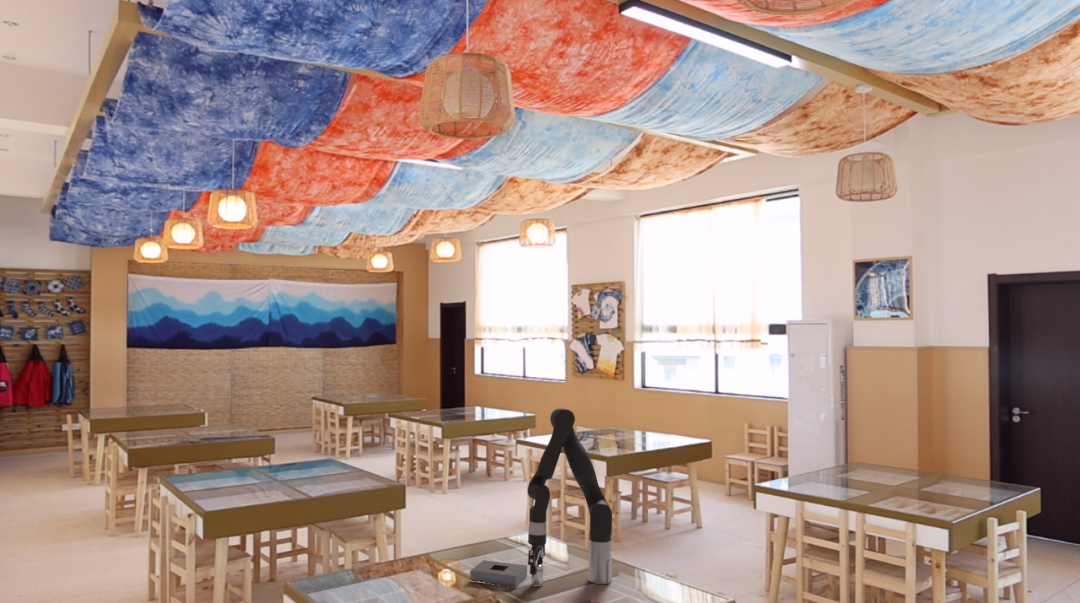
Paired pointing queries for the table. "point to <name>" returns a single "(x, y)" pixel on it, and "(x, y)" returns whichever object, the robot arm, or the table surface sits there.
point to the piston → (538, 575)
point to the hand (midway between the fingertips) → (536, 571)
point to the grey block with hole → (499, 573)
